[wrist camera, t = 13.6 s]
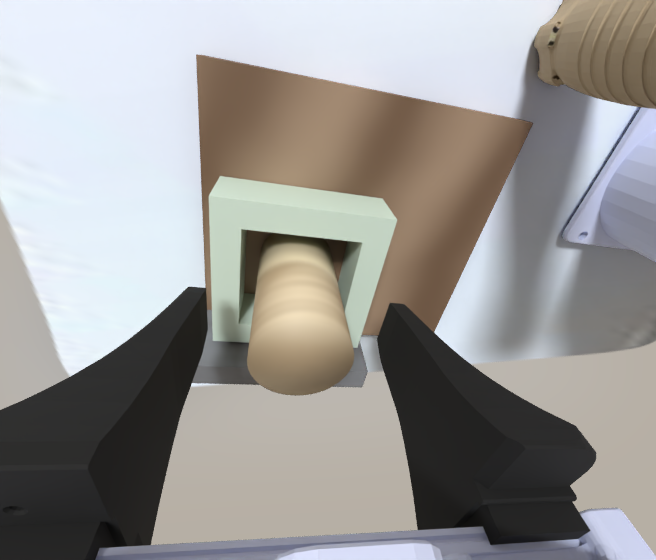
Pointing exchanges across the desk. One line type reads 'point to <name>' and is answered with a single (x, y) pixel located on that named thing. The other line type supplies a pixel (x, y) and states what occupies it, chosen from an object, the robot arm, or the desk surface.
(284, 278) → the dowel
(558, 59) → the handle
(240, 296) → the collar block
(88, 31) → the desk surface
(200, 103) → the board
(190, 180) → the desk surface
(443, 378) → the robot arm
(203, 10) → the desk surface
